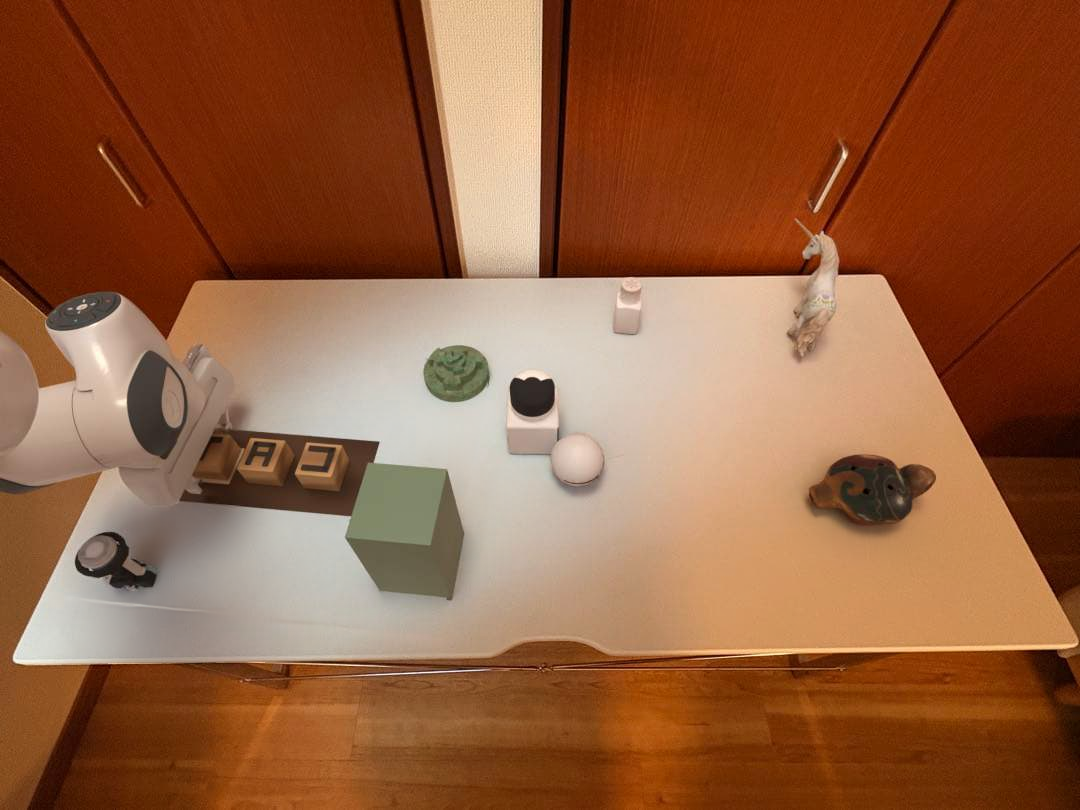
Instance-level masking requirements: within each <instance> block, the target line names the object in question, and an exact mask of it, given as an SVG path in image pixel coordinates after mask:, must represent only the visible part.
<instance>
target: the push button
mask: <svg viewBox="0 0 1080 810" xmlns="http://www.w3.org/2000/svg"><path fill="white" fill-rule="evenodd" d="M129 554H130V546H128V544H127V543H126V540H125V538H124V537H123V536H122V535H121V534H120V533H117V532H114V531H104V532H100V533H98V534H95V535H93V536H92V537H89V539H87V540H86V541H85V542H84V543H83V544H82V545H81V546H80V548H79V549H78V550H77V553H76V554H75V558H74V567H75V569H76V571H77V572H78V573H79V574H81V575H83V576H86V577H90V578H93V579H101V578H102V579H101V582H103V583H104V582H108V585H109V586H111V587H113V588H115V589H121V588H122V586H125V589H126V590H127V591H138V588H136V586H139V587H142V588H154V585H155V583H156V580H157V578H158V574H159V571H158V569H156V568H155V567H154V566H150V565H147V563H142V562H140V561H139V560H137V559H135V558H130V557H129ZM106 578H107V579H106Z"/></svg>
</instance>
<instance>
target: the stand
mask: <svg viewBox="0 0 1080 810" xmlns="http://www.w3.org/2000/svg"><path fill="white" fill-rule="evenodd" d="M464 536H465V531H464V527H463V524H462V519H461V516H460V512H459V508H458V504H457V500H456V497H455V493H454V490H453V486H452V482H451V478H450V474H449V470H448V469H447V468H439V467H428V466H427V467H426V466H415V465H413V466H412V465H402V464H390V463H379V462H374V463H368V464H367V467H366V470H365V474H364V477H363V480H362V483H361V487H360V490H359V493H358V496H357V500H356V503H355V506H354V509H353V513H352V516H350V519H349V523H348V525H347V528H346V532H345V535H344V539H345V540H346V542H347V544H349V546H350V548H351V550H352V551H353V552H354V554H355V555H356V557H357V559H358V560H359V562H360V563H361V565H362V566H363V568H364V569H365V571H366V572H367V574H368V576H369V577H370V578H371V579H372V581H373V583H374V584H375V586H376V588H377V589H378V591H379V592H387V593H394V594H395V593H397V594H405V595H406V594H407V595H415V596H416V595H417V596H428V597H438V598H446V601H452V600H453V597H454V596H453V595H454V591H455V585H456V580H457V575H458V569H459V563H460V559H461V553H462V548H463V544H464V543H463V542H464Z"/></svg>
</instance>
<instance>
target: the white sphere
mask: <svg viewBox="0 0 1080 810" xmlns="http://www.w3.org/2000/svg"><path fill="white" fill-rule="evenodd" d="M622 456H623V454H621V455H620V457H622ZM617 457H619V455H617V456H616V458H617ZM614 458H615V456H613V457H612V459H614ZM610 459H611V458H608V460H610ZM549 460H550V466H551V470H552V472H553V474H554V475H555V477H556V478H557V479H558V480H559V481H561V483H563V484H566V485H568V486H570V487H584V486H587V485H589V484H591V483H594V481H596V480H597V479H598V478H599V476H600V474H601V472H602V471H603V469H604V466H605V455H604V452H603V448H602V446H601V445H600V444H599V442H598V441H597V440H595V438H593V437H592V436H591V435H588V434H586V433H583V432H572V433H569V434H566V435H564V436H562V437H561V438H560V439H558V442H556V444H555V446H554V447H553V450H552V453H551V454H550V459H549Z"/></svg>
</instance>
